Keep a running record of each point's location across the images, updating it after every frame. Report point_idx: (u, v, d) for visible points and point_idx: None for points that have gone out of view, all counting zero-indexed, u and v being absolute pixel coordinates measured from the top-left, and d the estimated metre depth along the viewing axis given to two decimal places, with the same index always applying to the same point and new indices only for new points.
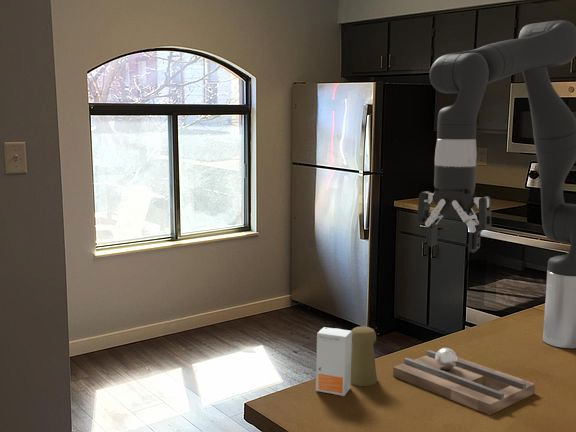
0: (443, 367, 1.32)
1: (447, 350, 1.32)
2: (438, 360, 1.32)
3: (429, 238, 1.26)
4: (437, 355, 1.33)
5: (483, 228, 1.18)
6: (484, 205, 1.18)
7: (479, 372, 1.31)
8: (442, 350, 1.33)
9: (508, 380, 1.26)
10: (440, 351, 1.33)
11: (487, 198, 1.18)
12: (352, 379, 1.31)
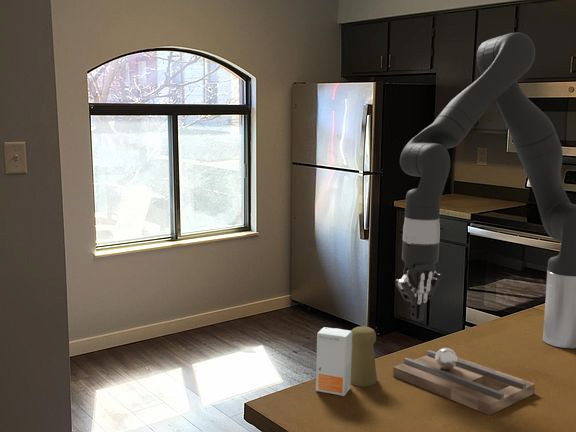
0: (443, 367, 1.32)
1: (447, 350, 1.32)
2: (438, 360, 1.32)
3: (420, 314, 1.37)
4: (437, 355, 1.33)
5: (431, 296, 1.38)
6: (439, 281, 1.40)
7: (479, 372, 1.31)
8: (442, 350, 1.33)
9: (508, 380, 1.26)
10: (440, 351, 1.33)
11: None
12: (352, 379, 1.31)
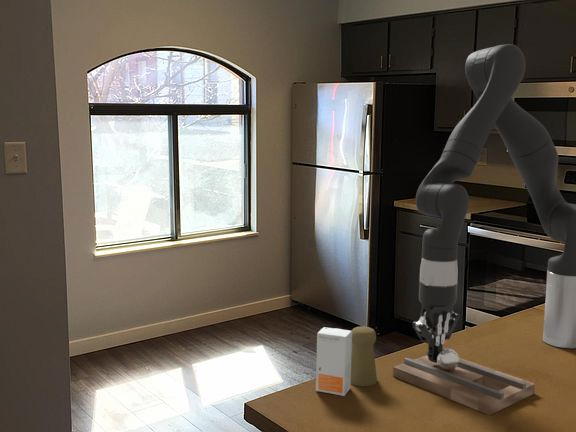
0: (444, 368, 1.32)
1: (450, 353, 1.31)
2: (440, 360, 1.32)
3: None
4: (440, 355, 1.32)
5: (449, 337, 1.36)
6: (457, 321, 1.37)
7: (479, 372, 1.31)
8: (445, 351, 1.32)
9: (508, 380, 1.26)
10: (443, 352, 1.32)
11: None
12: (352, 379, 1.31)
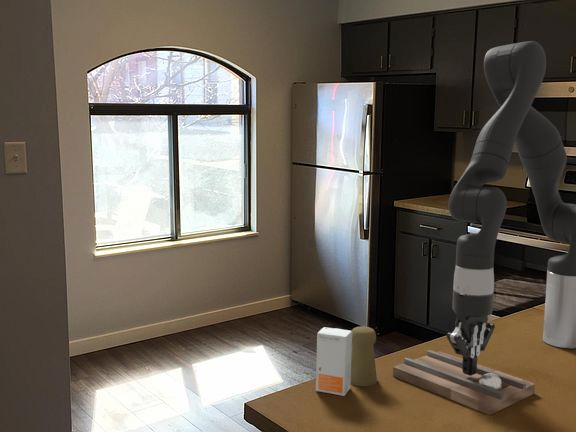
0: (490, 382, 1.23)
1: None
2: None
3: (473, 368, 1.28)
4: None
5: (484, 349, 1.29)
6: (492, 331, 1.30)
7: (479, 372, 1.31)
8: None
9: (508, 380, 1.26)
10: None
11: None
12: (352, 379, 1.31)
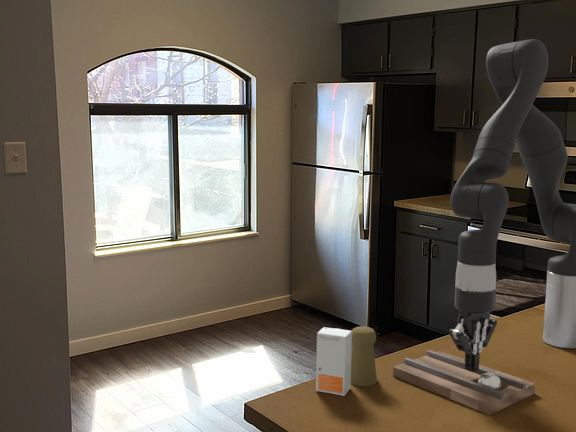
0: (489, 381, 1.24)
1: None
2: None
3: (475, 364, 1.27)
4: None
5: (486, 345, 1.29)
6: (494, 327, 1.30)
7: (479, 372, 1.31)
8: None
9: (508, 380, 1.26)
10: None
11: None
12: (352, 379, 1.31)
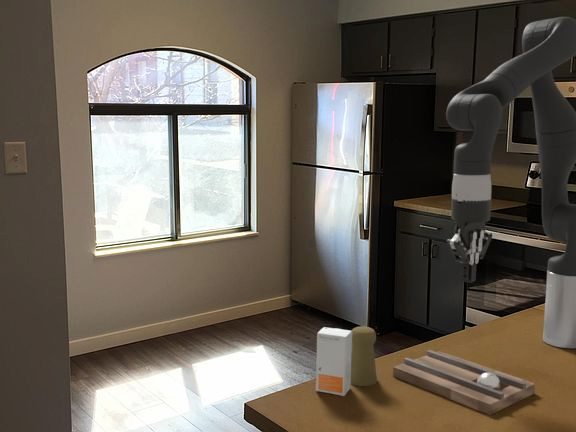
0: (487, 380, 1.24)
1: None
2: None
3: (472, 275, 1.31)
4: None
5: (482, 257, 1.32)
6: (489, 240, 1.33)
7: (479, 372, 1.31)
8: None
9: (508, 380, 1.26)
10: None
11: None
12: (352, 379, 1.31)
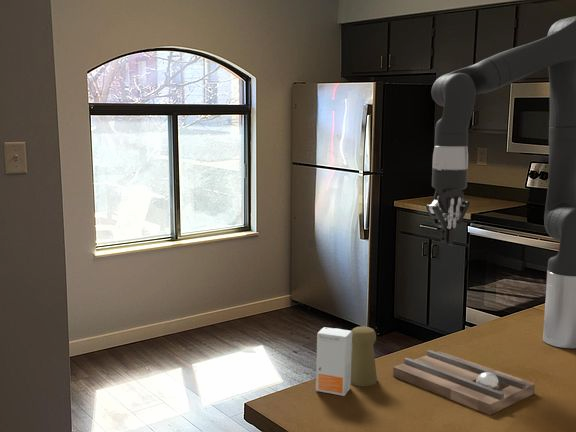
0: (486, 379, 1.24)
1: None
2: None
3: (450, 238, 1.44)
4: None
5: (460, 222, 1.46)
6: (467, 208, 1.47)
7: (479, 372, 1.31)
8: None
9: (508, 380, 1.26)
10: None
11: None
12: (352, 379, 1.31)
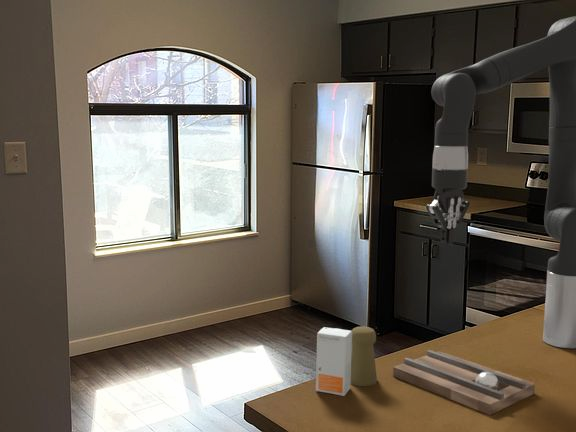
0: (484, 378, 1.24)
1: None
2: None
3: (450, 238, 1.44)
4: None
5: (460, 222, 1.46)
6: (467, 208, 1.47)
7: (479, 372, 1.31)
8: None
9: (508, 380, 1.26)
10: None
11: None
12: (352, 379, 1.31)
